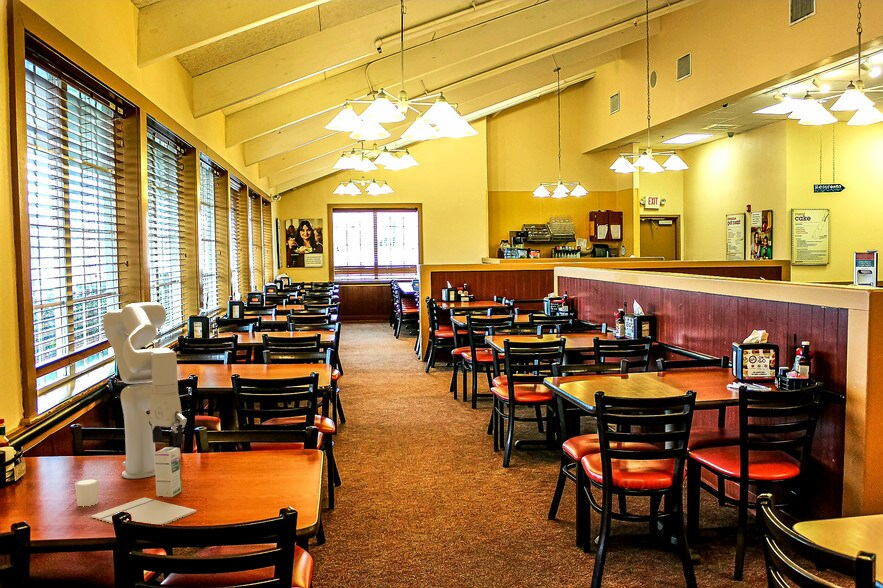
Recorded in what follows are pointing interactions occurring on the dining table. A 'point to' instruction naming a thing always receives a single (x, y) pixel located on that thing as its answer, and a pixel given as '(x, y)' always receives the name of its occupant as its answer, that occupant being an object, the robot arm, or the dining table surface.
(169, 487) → the syrup box
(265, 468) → the dining table surface
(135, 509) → the mat
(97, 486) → the white short cylinder
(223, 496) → the dining table surface
